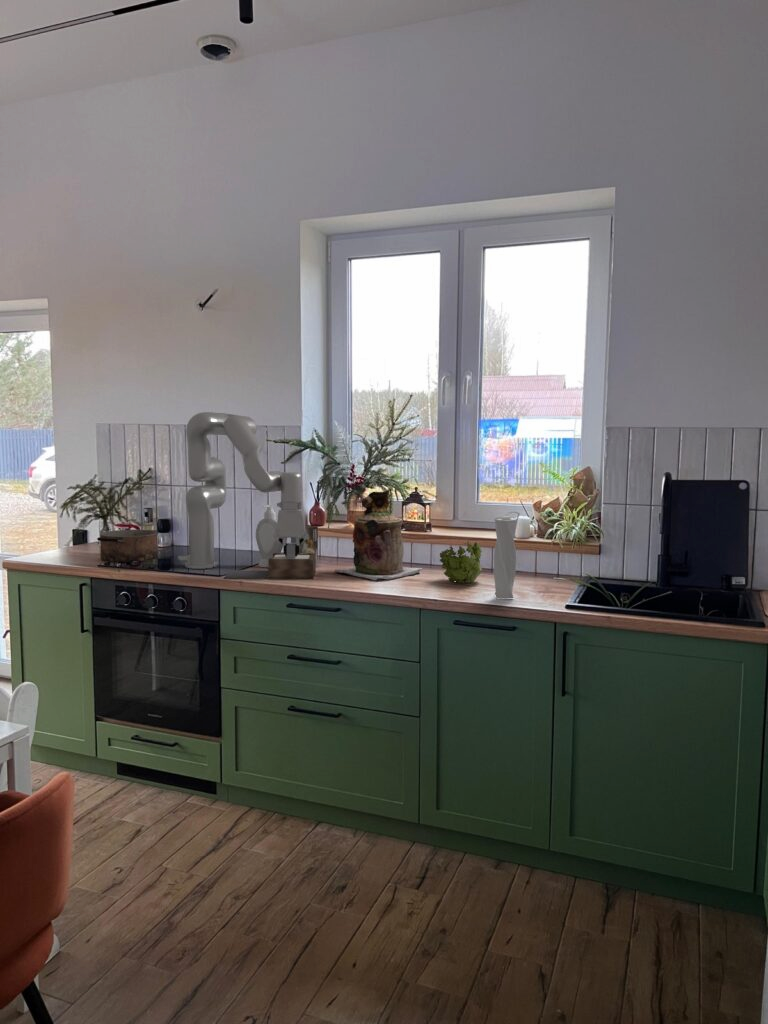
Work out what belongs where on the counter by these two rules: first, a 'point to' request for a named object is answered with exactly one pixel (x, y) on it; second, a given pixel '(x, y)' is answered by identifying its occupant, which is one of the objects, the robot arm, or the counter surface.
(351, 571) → the rustic painted jar
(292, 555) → the lid
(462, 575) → the green rounded bumpy piece
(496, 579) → the white faceted vase
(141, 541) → the cooking pot
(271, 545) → the soap bottle
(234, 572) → the mat
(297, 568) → the box
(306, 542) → the coffee box
